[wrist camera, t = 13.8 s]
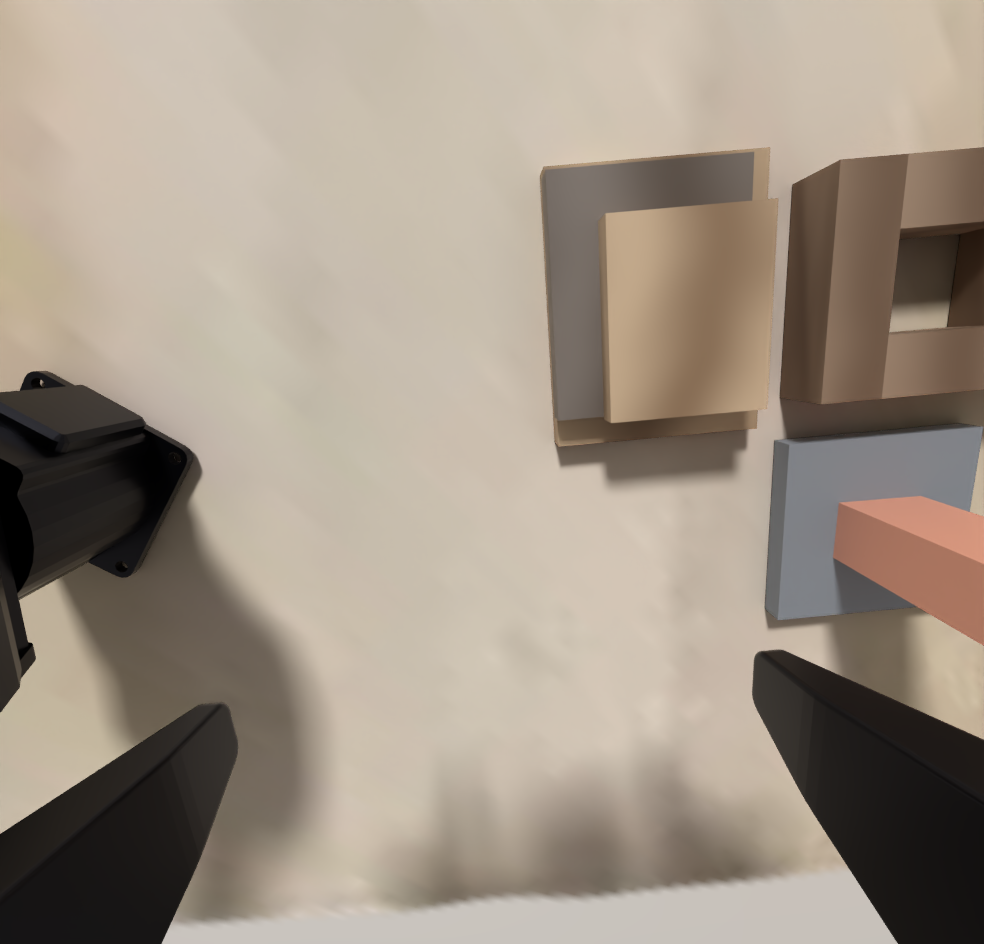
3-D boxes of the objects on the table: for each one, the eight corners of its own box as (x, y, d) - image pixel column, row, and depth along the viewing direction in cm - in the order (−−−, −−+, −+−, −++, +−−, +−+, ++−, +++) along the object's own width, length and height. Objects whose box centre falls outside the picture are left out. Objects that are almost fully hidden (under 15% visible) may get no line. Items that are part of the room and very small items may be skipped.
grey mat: (764, 608, 23) (777, 620, 22) (774, 440, 21) (789, 444, 20) (934, 592, 23) (954, 603, 22) (959, 423, 21) (983, 426, 20)
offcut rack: (552, 442, 20) (565, 457, 18) (537, 176, 18) (549, 143, 15) (988, 402, 21) (1072, 411, 18) (1032, 134, 18) (1138, 93, 15)
